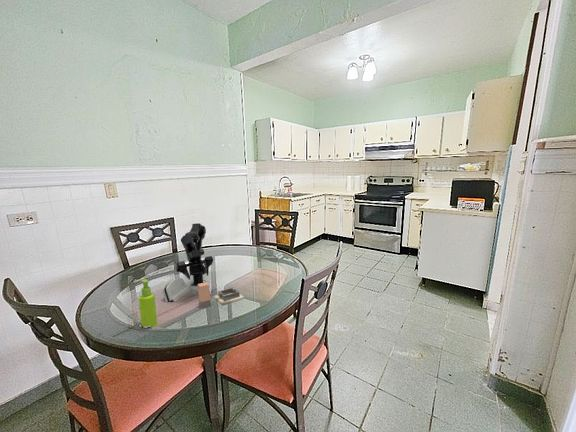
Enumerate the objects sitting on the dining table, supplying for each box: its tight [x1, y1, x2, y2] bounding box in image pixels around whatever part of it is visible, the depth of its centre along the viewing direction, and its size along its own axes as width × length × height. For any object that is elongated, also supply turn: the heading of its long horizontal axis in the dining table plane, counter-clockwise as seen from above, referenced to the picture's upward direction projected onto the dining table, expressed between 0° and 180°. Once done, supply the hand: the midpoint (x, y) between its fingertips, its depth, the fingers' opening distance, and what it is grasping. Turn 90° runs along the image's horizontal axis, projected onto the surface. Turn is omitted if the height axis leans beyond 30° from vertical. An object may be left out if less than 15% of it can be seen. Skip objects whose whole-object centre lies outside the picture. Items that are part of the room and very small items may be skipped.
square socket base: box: [213, 287, 245, 306], centre depth 133 cm, size 12×12×4 cm
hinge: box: [161, 277, 191, 303], centre depth 138 cm, size 17×5×10 cm, turn 173°
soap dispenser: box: [138, 278, 158, 327], centre depth 108 cm, size 6×7×20 cm
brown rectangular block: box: [197, 281, 212, 309], centre depth 125 cm, size 4×4×11 cm
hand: (199, 277), depth 130 cm, fingers open, 9 cm apart
